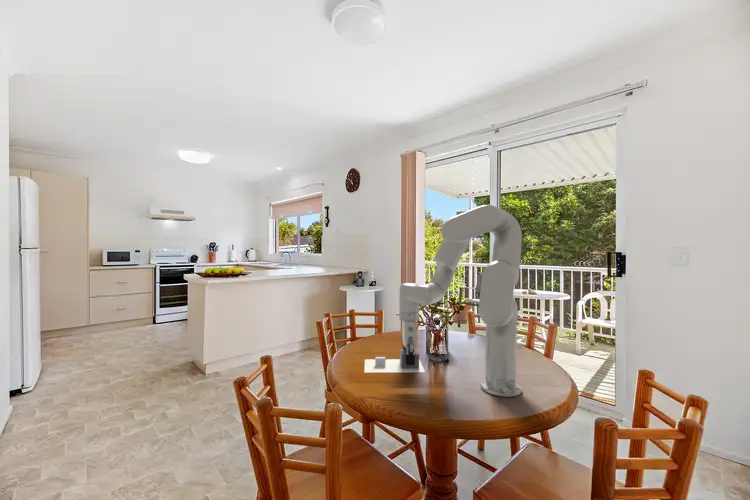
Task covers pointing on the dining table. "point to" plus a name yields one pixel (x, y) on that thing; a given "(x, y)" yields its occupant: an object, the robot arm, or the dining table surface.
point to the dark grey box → (403, 359)
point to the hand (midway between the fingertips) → (408, 360)
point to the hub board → (387, 366)
